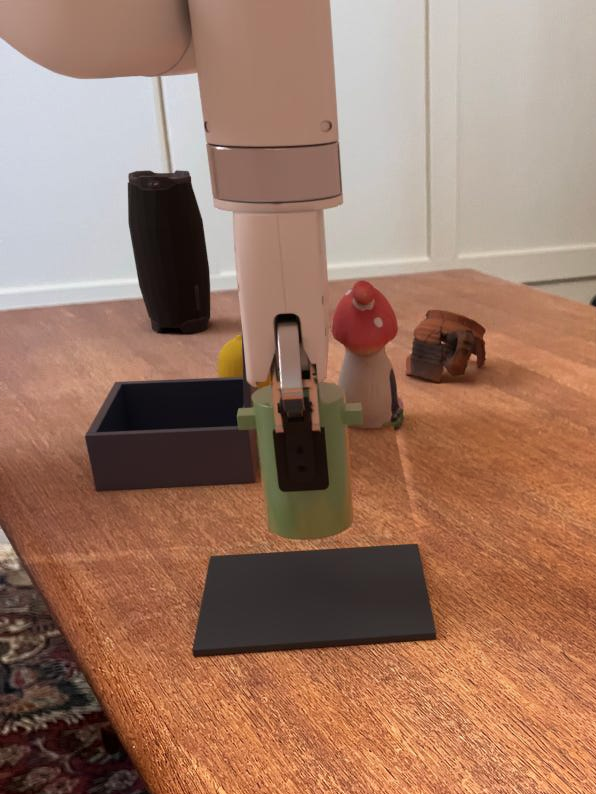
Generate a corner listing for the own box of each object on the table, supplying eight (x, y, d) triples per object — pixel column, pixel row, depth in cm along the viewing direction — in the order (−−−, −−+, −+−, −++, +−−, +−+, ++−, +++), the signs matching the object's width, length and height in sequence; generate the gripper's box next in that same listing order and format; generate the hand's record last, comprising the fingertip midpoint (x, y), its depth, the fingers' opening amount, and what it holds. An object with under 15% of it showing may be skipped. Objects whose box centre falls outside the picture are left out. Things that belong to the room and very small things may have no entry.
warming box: (97, 499, 88) (84, 435, 85) (125, 438, 102) (114, 381, 99) (256, 491, 90) (248, 428, 87) (263, 432, 103) (256, 375, 100)
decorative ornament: (386, 442, 101) (379, 286, 93) (324, 437, 102) (312, 282, 94) (413, 413, 108) (408, 266, 101) (355, 408, 110) (346, 263, 102)
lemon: (214, 415, 108) (203, 339, 104) (236, 399, 112) (227, 326, 108) (262, 419, 107) (253, 343, 103) (283, 403, 111) (275, 329, 107)
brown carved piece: (388, 373, 123) (407, 306, 122) (454, 399, 127) (473, 335, 127) (429, 372, 112) (450, 299, 112) (499, 400, 117) (521, 331, 116)
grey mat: (193, 656, 66) (192, 650, 66) (210, 561, 78) (210, 555, 78) (436, 639, 68) (436, 632, 68) (417, 548, 80) (417, 543, 80)
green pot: (249, 543, 67) (232, 411, 62) (253, 507, 72) (238, 382, 67) (370, 536, 68) (362, 405, 63) (366, 501, 73) (358, 377, 68)
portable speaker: (139, 325, 141) (113, 171, 131) (205, 317, 145) (184, 167, 135) (156, 339, 134) (130, 178, 124) (225, 330, 139) (205, 173, 129)
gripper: (221, 162, 66) (254, 430, 75) (196, 199, 51) (240, 526, 60) (338, 160, 67) (355, 425, 76) (345, 196, 52) (366, 518, 61)
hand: (304, 467), depth 68 cm, fingers closed on green pot, 6 cm apart
